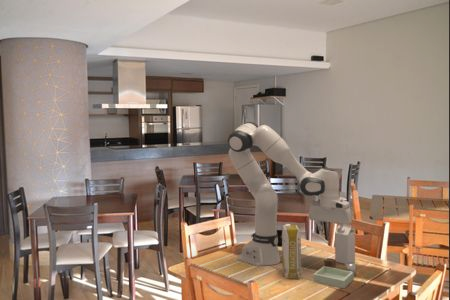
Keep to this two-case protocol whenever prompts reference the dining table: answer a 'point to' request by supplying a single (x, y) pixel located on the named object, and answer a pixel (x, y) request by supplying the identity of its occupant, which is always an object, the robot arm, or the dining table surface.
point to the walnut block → (330, 263)
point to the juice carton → (291, 251)
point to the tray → (333, 276)
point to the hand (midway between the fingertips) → (329, 231)
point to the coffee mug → (279, 235)
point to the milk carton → (345, 245)
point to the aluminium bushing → (351, 267)
